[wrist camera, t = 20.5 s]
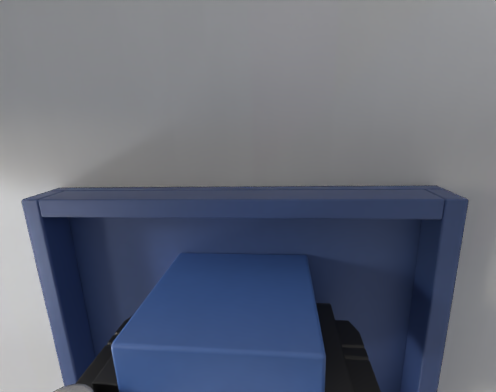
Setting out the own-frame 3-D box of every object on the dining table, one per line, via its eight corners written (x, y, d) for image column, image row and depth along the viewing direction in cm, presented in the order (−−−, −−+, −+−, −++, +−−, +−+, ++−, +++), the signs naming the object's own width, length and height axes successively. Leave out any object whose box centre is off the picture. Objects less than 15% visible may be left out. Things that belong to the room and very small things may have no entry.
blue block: (190, 356, 12) (136, 497, 7) (179, 251, 11) (108, 345, 6) (305, 363, 11) (321, 517, 7) (307, 253, 10) (327, 356, 6)
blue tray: (98, 386, 13) (72, 424, 12) (58, 187, 11) (19, 199, 9) (407, 409, 12) (427, 456, 10) (437, 185, 9) (469, 199, 8)
